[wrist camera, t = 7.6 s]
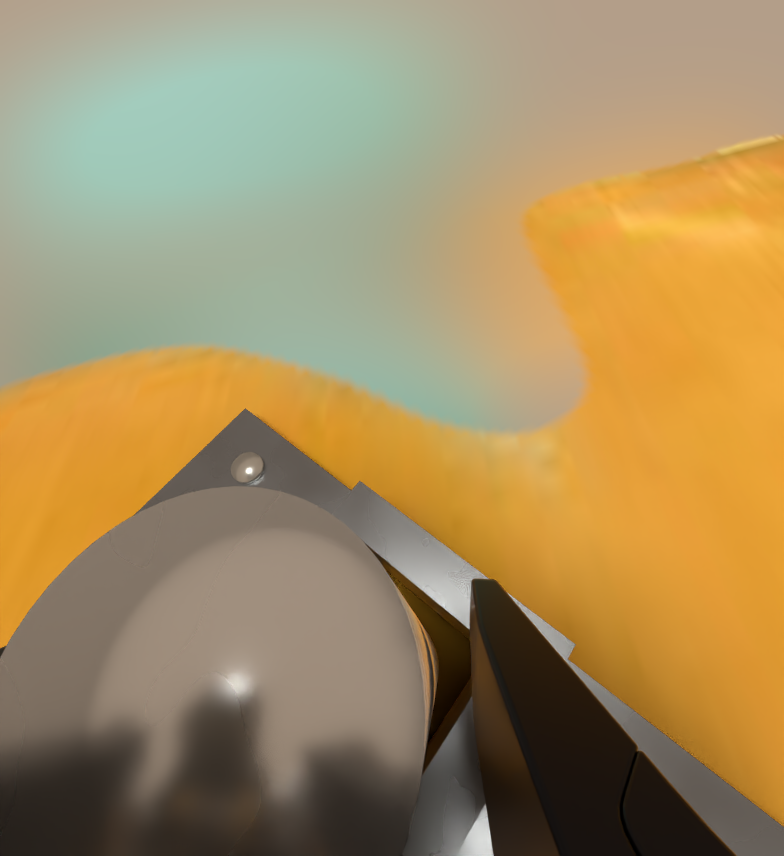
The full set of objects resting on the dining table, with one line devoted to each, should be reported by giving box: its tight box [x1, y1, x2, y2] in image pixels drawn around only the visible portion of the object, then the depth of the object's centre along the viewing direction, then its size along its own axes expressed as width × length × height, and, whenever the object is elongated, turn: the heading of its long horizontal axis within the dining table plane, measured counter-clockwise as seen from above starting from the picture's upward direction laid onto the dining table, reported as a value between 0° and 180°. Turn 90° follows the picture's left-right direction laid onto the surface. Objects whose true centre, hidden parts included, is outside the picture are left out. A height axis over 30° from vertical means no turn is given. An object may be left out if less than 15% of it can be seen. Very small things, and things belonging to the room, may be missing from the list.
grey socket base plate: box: [135, 408, 784, 856], centre depth 14 cm, size 24×8×4 cm, turn 51°
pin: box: [0, 486, 439, 856], centre depth 9 cm, size 4×4×14 cm
